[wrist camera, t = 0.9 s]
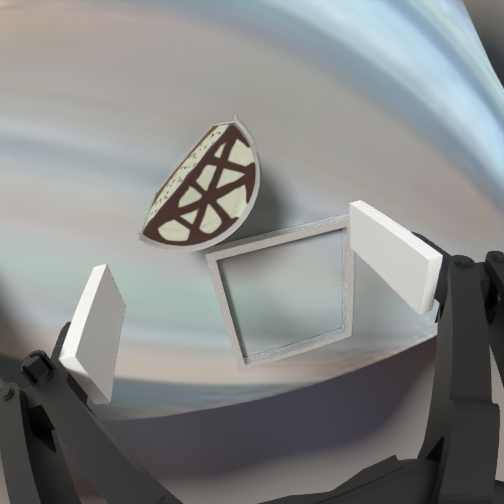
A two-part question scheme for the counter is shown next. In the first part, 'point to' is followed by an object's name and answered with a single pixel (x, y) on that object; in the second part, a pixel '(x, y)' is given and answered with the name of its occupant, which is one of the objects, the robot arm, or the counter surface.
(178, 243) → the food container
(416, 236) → the robot arm
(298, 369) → the counter surface
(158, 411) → the counter surface
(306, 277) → the counter surface
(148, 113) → the counter surface
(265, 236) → the grey square frame
